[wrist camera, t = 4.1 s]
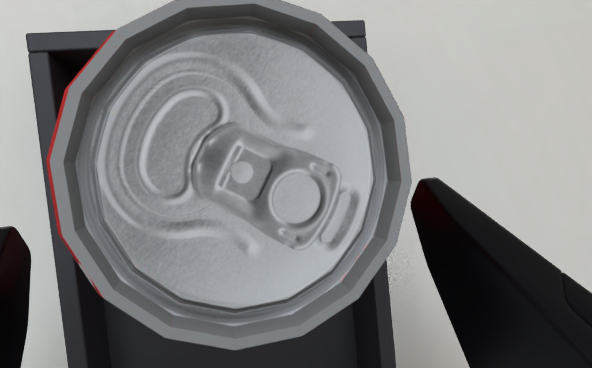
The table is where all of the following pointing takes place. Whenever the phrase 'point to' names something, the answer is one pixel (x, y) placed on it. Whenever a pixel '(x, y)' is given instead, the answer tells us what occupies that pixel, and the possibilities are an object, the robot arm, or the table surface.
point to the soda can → (229, 171)
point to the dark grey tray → (138, 337)
